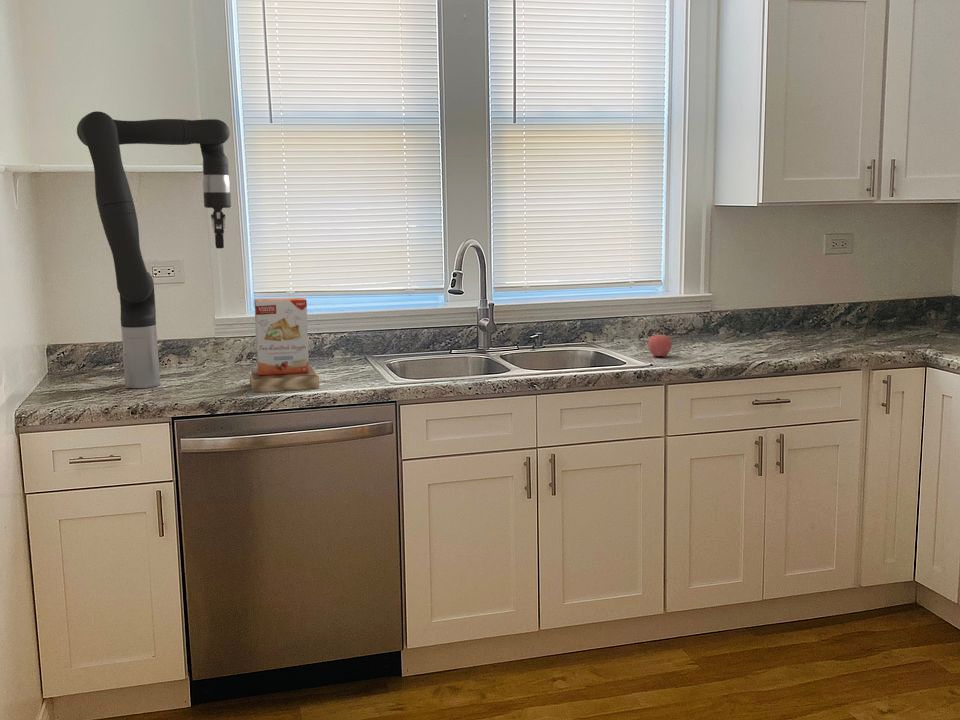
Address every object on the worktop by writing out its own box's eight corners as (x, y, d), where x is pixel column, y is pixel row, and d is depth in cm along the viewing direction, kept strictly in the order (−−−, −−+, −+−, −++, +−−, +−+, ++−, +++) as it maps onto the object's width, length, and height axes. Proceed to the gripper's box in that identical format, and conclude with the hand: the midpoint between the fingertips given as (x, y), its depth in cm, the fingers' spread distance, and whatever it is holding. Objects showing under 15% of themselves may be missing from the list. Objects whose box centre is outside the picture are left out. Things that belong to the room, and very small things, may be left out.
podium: (252, 392, 251) (252, 379, 250) (250, 383, 263) (249, 370, 262) (319, 388, 256) (318, 374, 255) (313, 379, 268) (313, 366, 267)
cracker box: (258, 376, 254) (254, 300, 250) (257, 372, 260) (253, 298, 256) (310, 373, 258) (306, 298, 254) (307, 369, 263) (304, 296, 260)
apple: (647, 358, 296) (647, 333, 295) (648, 354, 303) (649, 330, 302) (670, 359, 294) (671, 334, 293) (671, 355, 301) (672, 331, 300)
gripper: (231, 191, 261) (233, 248, 263) (229, 191, 274) (232, 246, 277) (203, 191, 259) (206, 249, 261) (203, 191, 272) (206, 246, 275)
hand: (219, 247), depth 269 cm, fingers open, 8 cm apart
